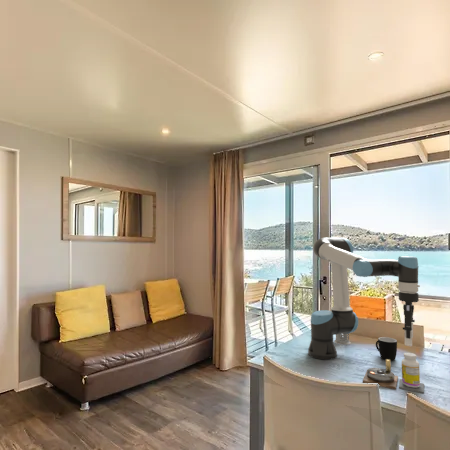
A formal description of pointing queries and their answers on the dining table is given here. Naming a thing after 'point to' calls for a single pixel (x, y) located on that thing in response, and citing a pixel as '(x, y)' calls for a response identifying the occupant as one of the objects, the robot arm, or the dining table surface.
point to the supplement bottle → (410, 371)
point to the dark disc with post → (381, 373)
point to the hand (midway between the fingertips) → (409, 341)
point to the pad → (418, 389)
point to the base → (383, 384)
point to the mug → (387, 348)
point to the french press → (342, 339)
